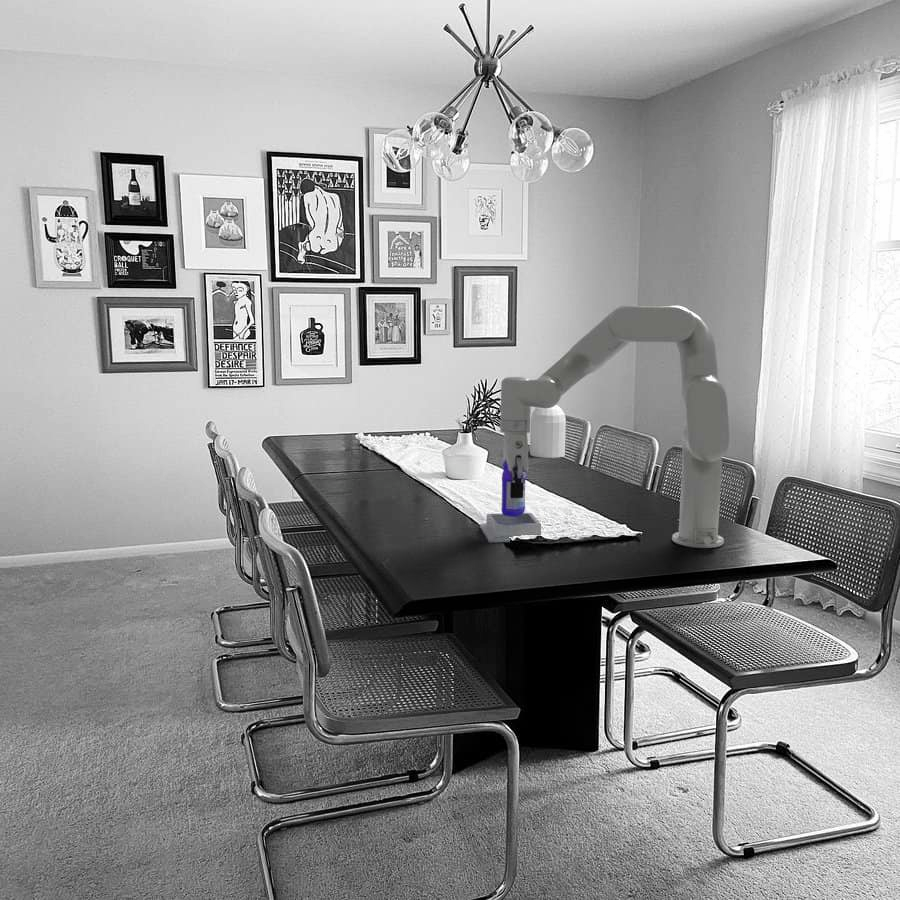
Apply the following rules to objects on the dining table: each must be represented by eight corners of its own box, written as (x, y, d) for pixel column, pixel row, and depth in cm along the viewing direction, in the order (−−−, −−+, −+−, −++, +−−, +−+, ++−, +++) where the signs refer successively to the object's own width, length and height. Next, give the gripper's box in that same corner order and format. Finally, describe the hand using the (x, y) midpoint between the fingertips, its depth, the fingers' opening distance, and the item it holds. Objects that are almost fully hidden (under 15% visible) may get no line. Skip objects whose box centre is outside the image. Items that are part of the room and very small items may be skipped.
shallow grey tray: (547, 540, 233) (548, 525, 232) (489, 542, 231) (489, 526, 230) (535, 525, 248) (535, 511, 247) (479, 527, 246) (480, 512, 245)
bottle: (519, 518, 234) (520, 450, 231) (498, 516, 236) (499, 449, 233) (527, 512, 241) (529, 446, 238) (507, 510, 243) (508, 444, 240)
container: (525, 451, 359) (526, 400, 356) (558, 451, 362) (560, 400, 358) (535, 458, 346) (536, 405, 343) (569, 457, 349) (571, 404, 345)
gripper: (537, 431, 226) (535, 501, 229) (522, 421, 243) (521, 486, 246) (506, 431, 225) (505, 502, 229) (494, 421, 242) (493, 487, 246)
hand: (513, 493), depth 237 cm, fingers closed on bottle, 7 cm apart
